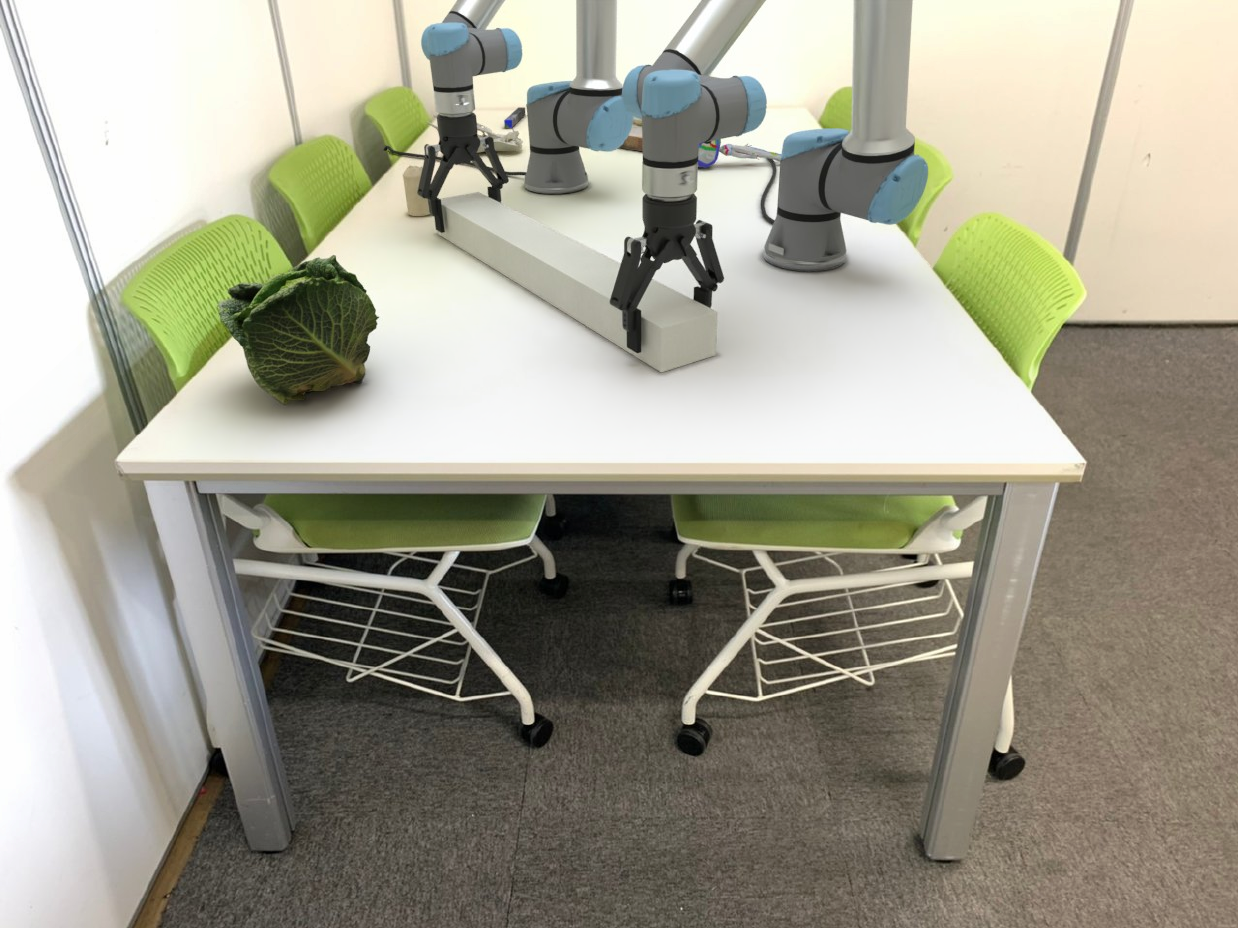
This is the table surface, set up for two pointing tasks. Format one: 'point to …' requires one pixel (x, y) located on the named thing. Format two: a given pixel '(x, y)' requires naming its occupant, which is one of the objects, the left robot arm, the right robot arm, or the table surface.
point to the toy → (730, 152)
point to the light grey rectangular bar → (578, 280)
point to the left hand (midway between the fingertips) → (468, 225)
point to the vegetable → (302, 328)
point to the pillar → (514, 117)
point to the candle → (414, 192)
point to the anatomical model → (497, 139)
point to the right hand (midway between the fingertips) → (667, 339)
